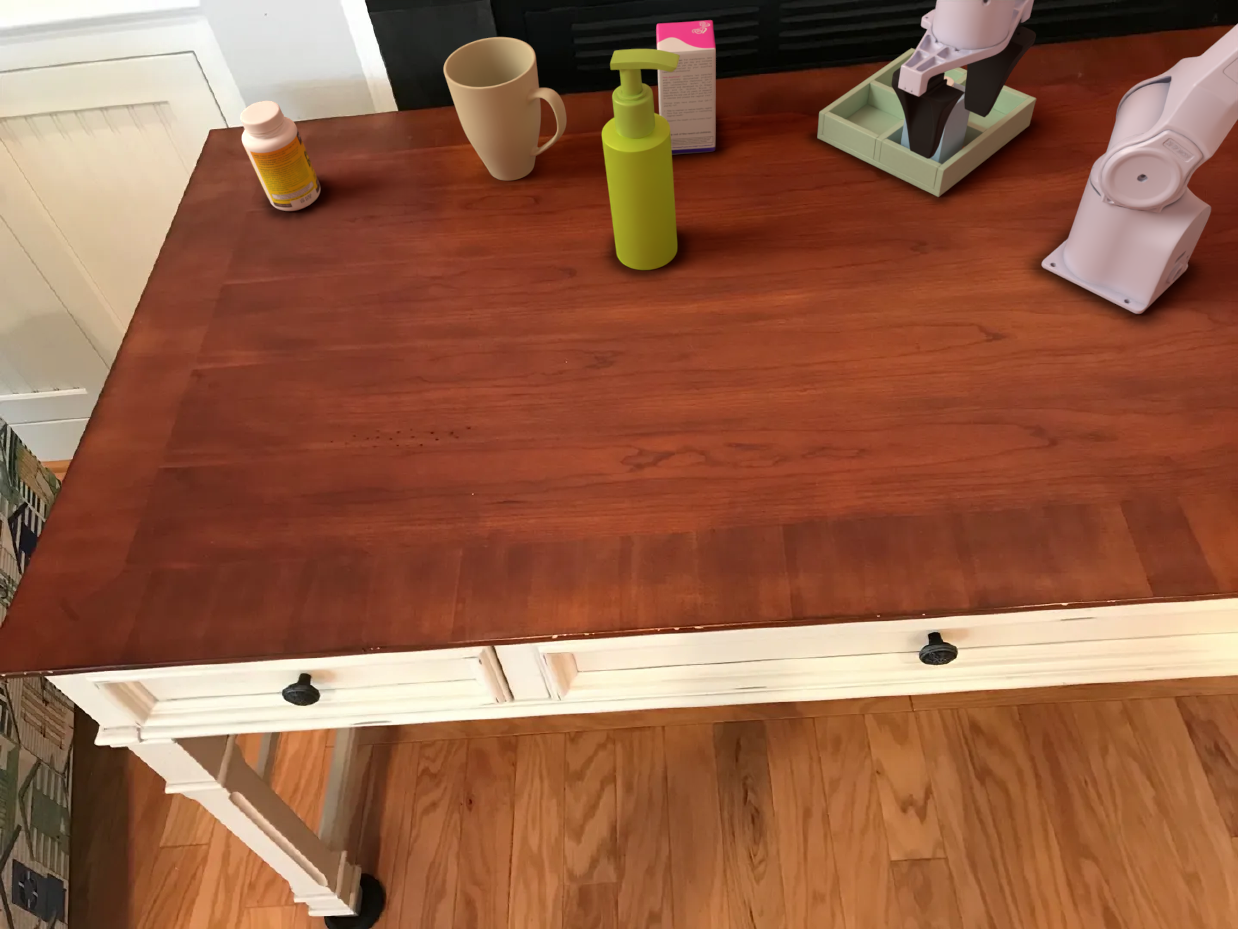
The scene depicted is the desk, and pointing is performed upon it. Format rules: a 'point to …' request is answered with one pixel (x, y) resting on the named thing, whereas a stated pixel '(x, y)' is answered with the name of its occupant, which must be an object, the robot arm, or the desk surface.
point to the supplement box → (689, 85)
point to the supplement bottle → (279, 157)
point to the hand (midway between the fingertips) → (949, 131)
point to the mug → (501, 103)
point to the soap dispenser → (640, 164)
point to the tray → (876, 122)
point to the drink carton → (948, 129)
